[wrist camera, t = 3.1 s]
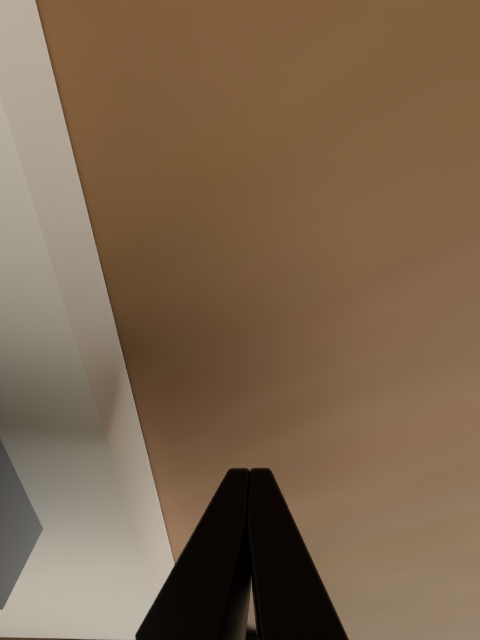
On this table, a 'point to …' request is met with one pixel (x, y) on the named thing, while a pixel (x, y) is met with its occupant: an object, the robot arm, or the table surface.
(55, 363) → the cream block
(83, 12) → the table surface
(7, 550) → the slate tile
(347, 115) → the table surface
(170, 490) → the table surface
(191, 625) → the robot arm
